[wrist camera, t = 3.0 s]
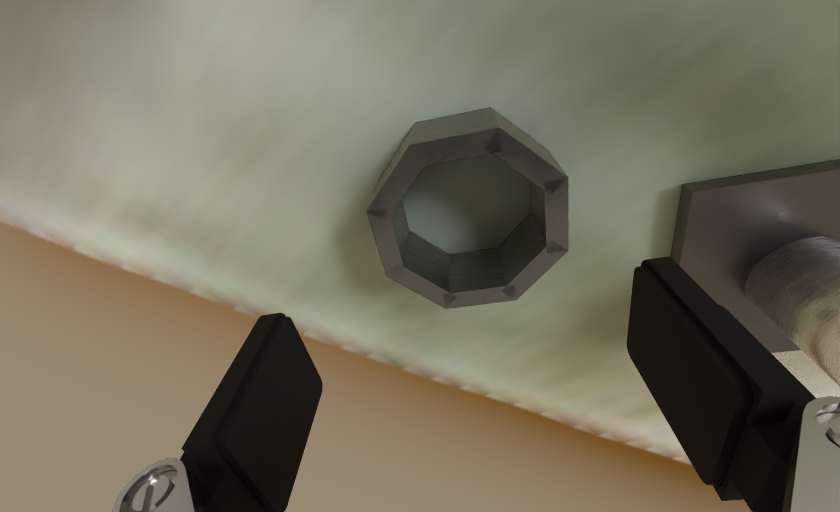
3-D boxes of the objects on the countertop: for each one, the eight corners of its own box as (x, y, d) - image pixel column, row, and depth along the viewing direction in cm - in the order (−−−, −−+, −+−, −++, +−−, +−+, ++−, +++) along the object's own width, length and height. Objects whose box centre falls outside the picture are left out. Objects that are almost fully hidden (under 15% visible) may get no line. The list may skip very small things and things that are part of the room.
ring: (364, 132, 16) (349, 156, 13) (546, 96, 14) (568, 114, 12) (404, 274, 19) (398, 314, 17) (551, 254, 18) (568, 293, 16)
